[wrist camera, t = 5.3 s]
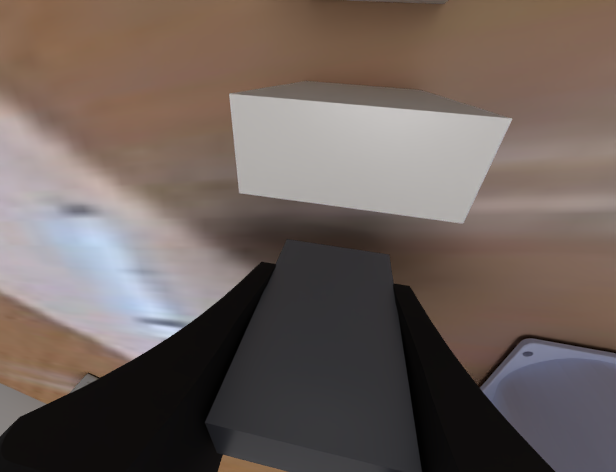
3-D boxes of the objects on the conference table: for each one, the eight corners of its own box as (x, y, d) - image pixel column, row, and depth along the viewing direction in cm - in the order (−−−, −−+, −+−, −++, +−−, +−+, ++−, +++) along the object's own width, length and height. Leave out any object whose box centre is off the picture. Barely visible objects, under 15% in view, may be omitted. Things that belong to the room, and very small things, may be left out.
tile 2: (407, 139, 10) (463, 223, 5) (304, 129, 11) (239, 192, 5) (421, 89, 9) (512, 118, 4) (306, 80, 10) (229, 93, 4)
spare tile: (379, 285, 12) (398, 500, 6) (286, 270, 12) (217, 452, 6) (389, 254, 11) (422, 476, 5) (287, 239, 11) (204, 422, 5)
